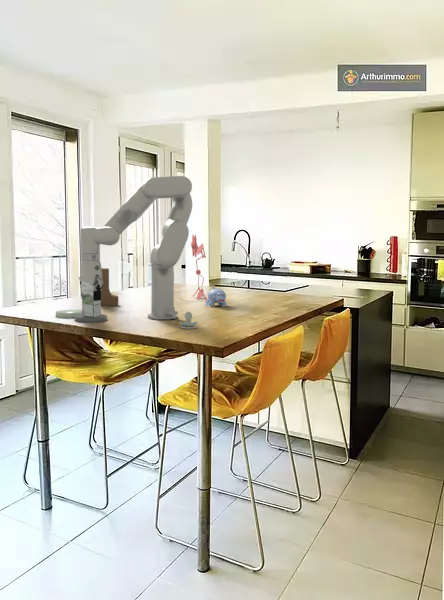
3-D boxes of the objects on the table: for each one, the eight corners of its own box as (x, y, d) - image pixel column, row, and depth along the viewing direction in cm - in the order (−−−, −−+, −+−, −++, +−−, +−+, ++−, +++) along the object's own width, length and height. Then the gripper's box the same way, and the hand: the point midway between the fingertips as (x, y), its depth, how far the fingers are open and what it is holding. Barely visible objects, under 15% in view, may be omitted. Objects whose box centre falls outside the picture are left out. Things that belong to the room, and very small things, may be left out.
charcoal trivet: (113, 320, 221) (113, 316, 221) (89, 325, 211) (89, 320, 210) (92, 317, 228) (92, 312, 228) (68, 321, 218) (68, 316, 218)
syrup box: (101, 315, 221) (100, 280, 219) (94, 317, 215) (93, 282, 213) (89, 314, 223) (88, 280, 221) (81, 317, 217) (80, 281, 215)
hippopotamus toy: (211, 309, 256) (211, 289, 255) (202, 304, 270) (202, 285, 269) (232, 308, 259) (232, 289, 258) (222, 304, 273) (223, 285, 272)
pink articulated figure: (202, 295, 303) (202, 233, 298) (211, 302, 278) (210, 235, 273) (175, 296, 300) (174, 234, 295) (182, 303, 275) (181, 235, 270)
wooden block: (118, 304, 262) (118, 268, 260) (117, 306, 258) (117, 269, 255) (99, 304, 261) (99, 268, 259) (98, 305, 257) (98, 268, 254)
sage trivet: (89, 317, 228) (89, 312, 228) (64, 319, 220) (63, 315, 219) (76, 313, 237) (76, 308, 236) (50, 315, 228) (50, 311, 228)
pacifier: (198, 329, 205) (196, 326, 211) (198, 313, 204) (197, 310, 210) (179, 330, 204) (178, 326, 210) (179, 314, 203) (178, 311, 208)
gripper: (109, 258, 212) (110, 300, 215) (87, 256, 225) (88, 296, 227) (93, 259, 207) (93, 302, 210) (71, 256, 219) (72, 297, 222)
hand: (91, 299), depth 218 cm, fingers open, 9 cm apart
